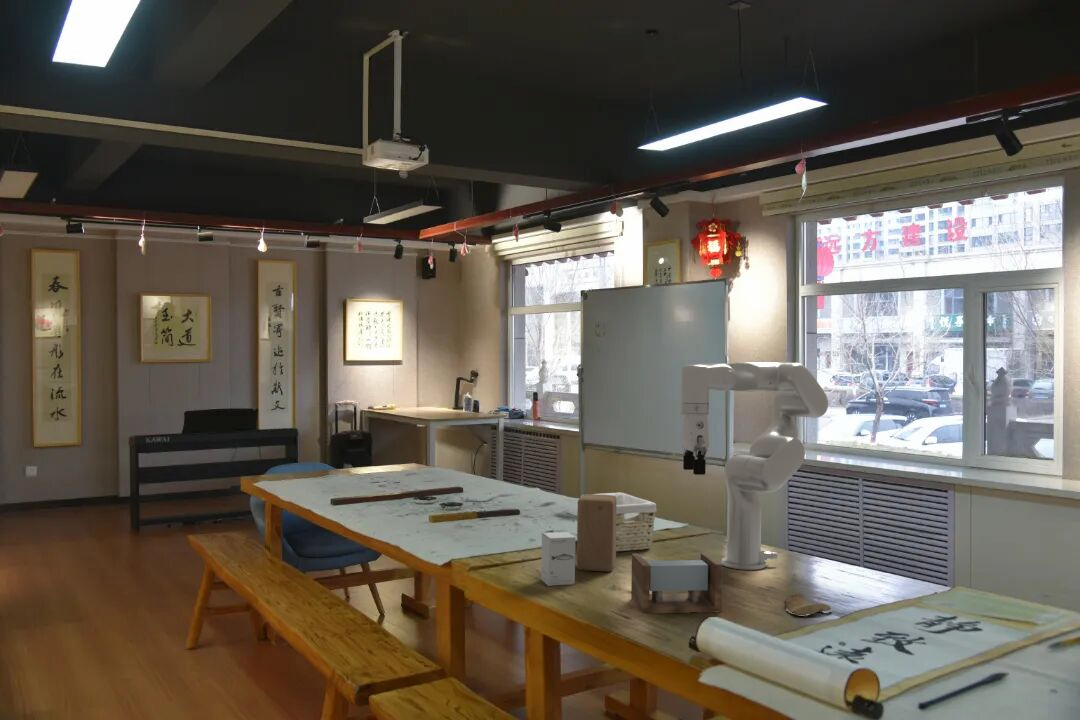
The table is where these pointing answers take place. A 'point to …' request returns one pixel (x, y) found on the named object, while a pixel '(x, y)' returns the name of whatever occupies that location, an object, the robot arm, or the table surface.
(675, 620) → the table surface
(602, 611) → the table surface
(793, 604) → the pottery shard
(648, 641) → the table surface
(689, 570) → the grey rectangular block
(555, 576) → the supplement box
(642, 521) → the storage basket
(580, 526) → the wooden block
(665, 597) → the peg frame
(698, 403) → the robot arm
